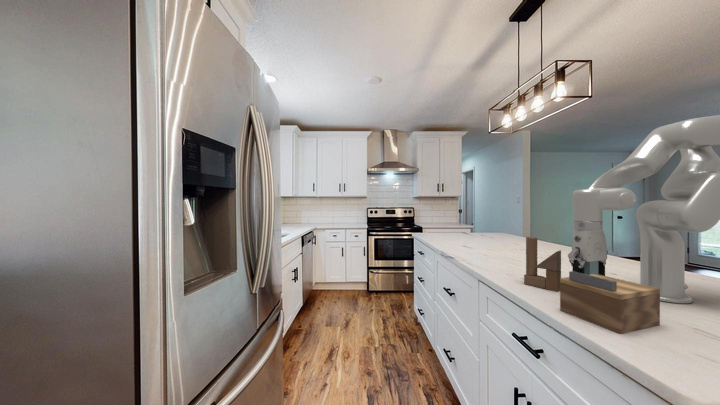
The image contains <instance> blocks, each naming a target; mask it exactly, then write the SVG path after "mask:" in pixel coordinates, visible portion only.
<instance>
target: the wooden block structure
mask: <svg viewBox="0 0 720 405" xmlns="http://www.w3.org/2000/svg"><path fill="white" fill-rule="evenodd" d="M538 269H542V270H545V276H543V275H538ZM561 270H562V250H557V251H555V252H554V253H552V254H551V255H550V256H548V257H547V258H546V259H544V260H543V261H540V262H539V263H538V237H537V236H526V237H525V274H523V284H524V285H527V286H532V287H537V288H540V289H544V290H545V289H546V291H547V290H549V291H552V292H556V293H557V292H560V278H562V271H561Z"/></svg>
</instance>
